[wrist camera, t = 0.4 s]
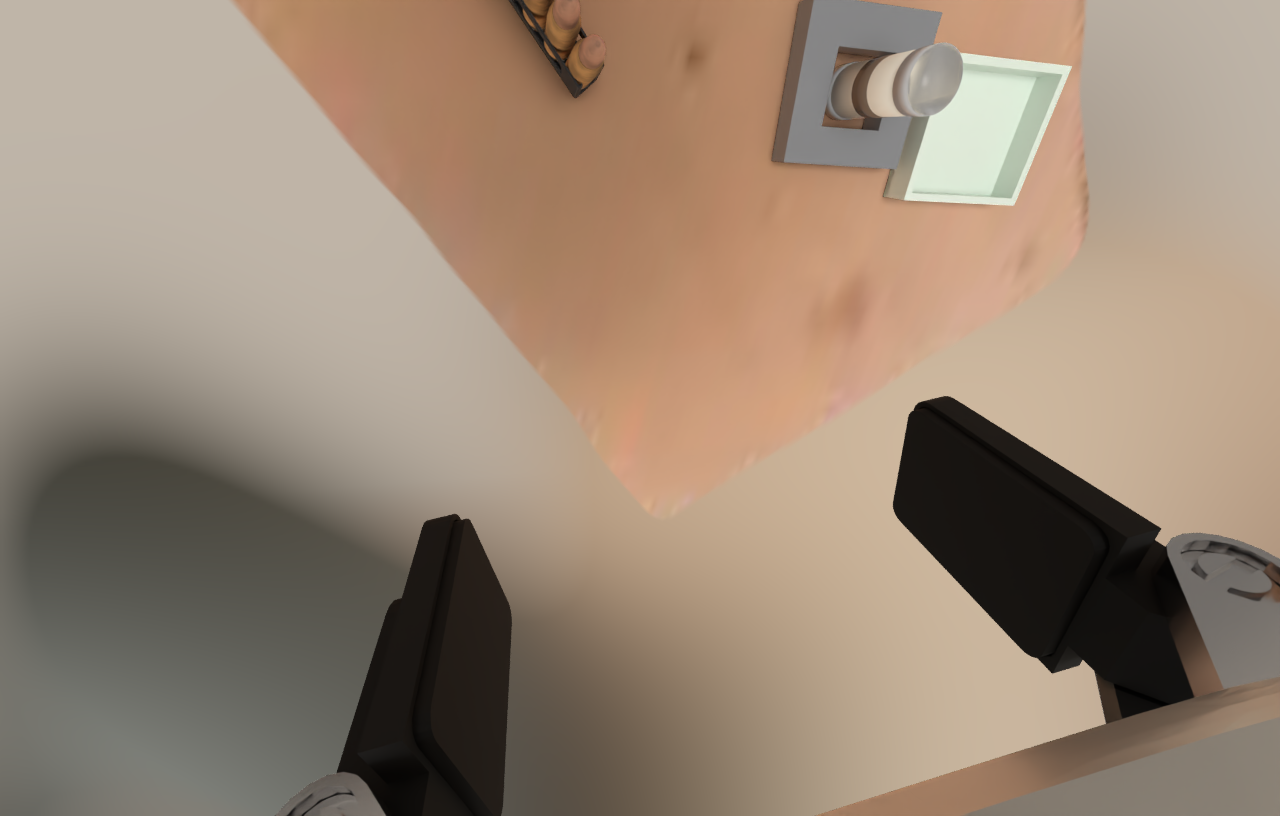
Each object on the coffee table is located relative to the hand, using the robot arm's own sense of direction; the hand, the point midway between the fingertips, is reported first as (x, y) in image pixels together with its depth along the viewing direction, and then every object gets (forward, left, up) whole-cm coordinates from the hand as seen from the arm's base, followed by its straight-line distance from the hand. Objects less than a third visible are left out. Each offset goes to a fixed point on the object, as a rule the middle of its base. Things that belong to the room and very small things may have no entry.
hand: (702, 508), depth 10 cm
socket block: (-10, +18, -29) cm, 36 cm away
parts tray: (-8, +29, -29) cm, 42 cm away
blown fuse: (-10, +18, -29) cm, 36 cm away
